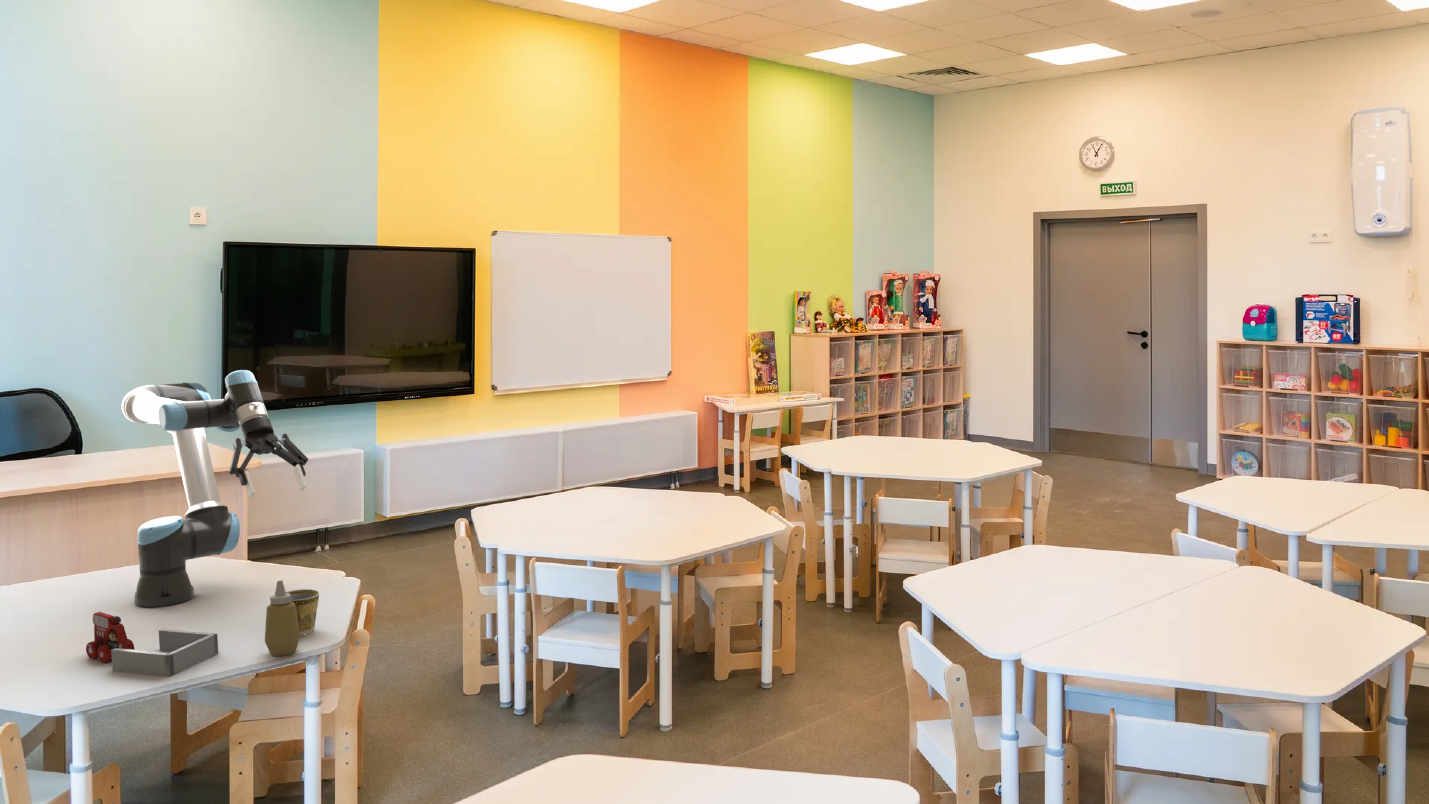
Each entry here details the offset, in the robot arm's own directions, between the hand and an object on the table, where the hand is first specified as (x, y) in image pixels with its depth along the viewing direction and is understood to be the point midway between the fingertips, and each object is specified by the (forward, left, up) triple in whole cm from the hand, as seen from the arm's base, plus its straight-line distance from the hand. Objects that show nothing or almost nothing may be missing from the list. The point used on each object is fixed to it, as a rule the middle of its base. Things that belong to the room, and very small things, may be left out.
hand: (278, 491), depth 262 cm
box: (-9, -31, -36) cm, 48 cm away
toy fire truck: (-25, -31, -36) cm, 54 cm away
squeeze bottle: (+14, -19, -36) cm, 43 cm away
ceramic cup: (+7, -4, -36) cm, 37 cm away
